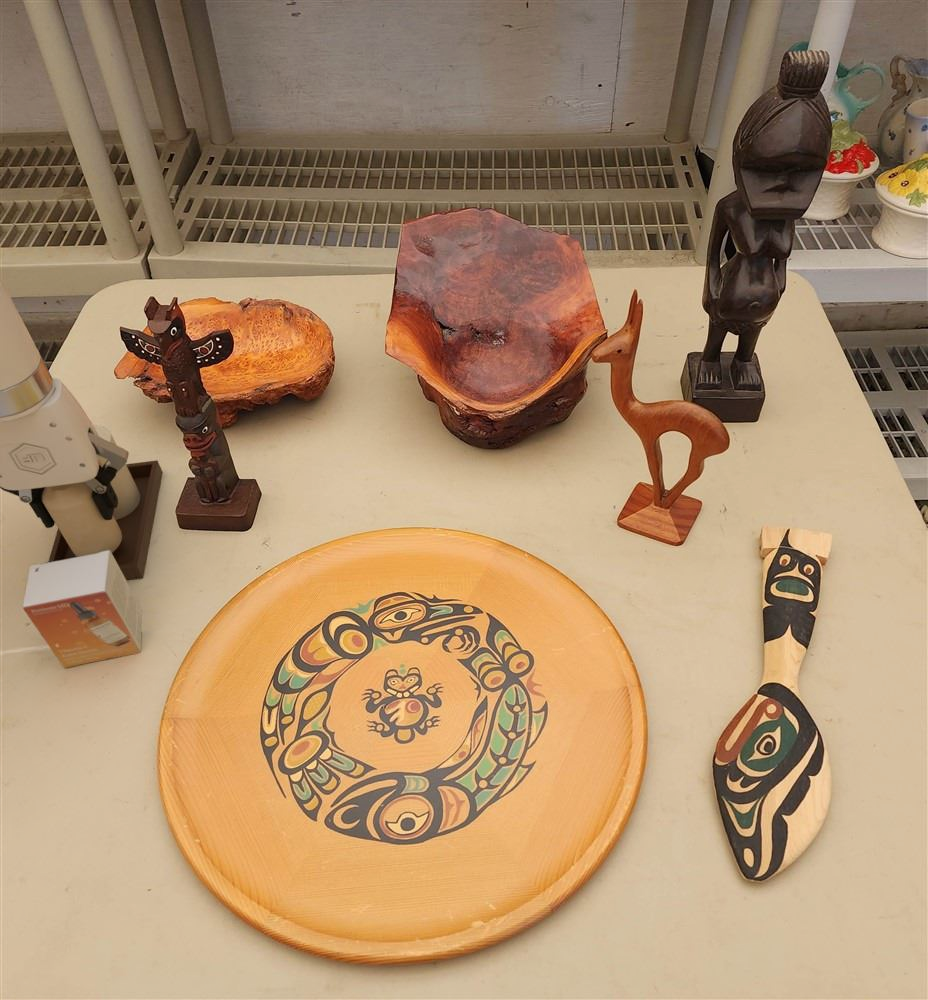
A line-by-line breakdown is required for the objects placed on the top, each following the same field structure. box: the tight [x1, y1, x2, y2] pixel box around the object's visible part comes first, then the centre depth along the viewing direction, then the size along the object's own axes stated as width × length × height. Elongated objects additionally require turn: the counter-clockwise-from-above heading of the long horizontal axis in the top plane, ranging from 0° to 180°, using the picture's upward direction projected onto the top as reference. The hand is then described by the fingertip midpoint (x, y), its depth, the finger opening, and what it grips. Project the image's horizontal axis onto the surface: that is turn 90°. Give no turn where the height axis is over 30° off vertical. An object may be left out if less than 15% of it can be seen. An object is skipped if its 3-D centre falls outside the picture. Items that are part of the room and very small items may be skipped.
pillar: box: [93, 424, 140, 520], centre depth 101 cm, size 6×6×10 cm
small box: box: [22, 550, 143, 669], centre depth 87 cm, size 8×6×10 cm
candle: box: [42, 482, 122, 557], centre depth 94 cm, size 6×6×10 cm
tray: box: [47, 459, 164, 582], centre depth 101 cm, size 10×17×3 cm, turn 7°
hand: (81, 513), depth 94 cm, fingers closed on candle, 5 cm apart
